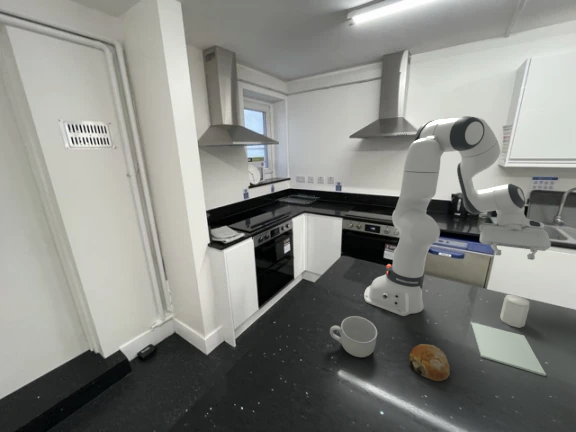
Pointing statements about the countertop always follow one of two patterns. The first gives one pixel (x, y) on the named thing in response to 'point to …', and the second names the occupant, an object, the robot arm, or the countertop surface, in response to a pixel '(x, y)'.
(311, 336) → the countertop surface
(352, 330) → the teacup
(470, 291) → the countertop surface
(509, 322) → the domed hexagonal post
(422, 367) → the bread roll
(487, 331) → the mat
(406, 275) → the robot arm
